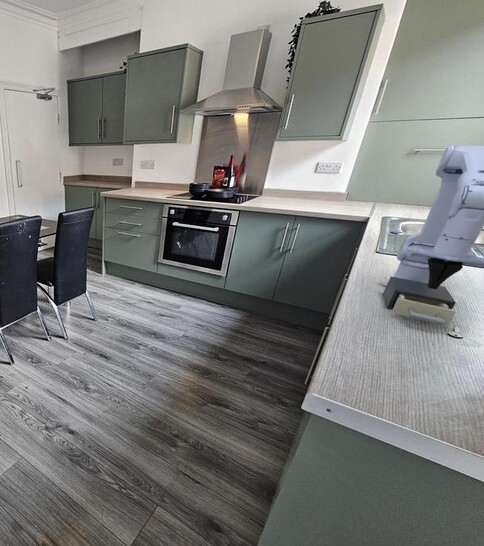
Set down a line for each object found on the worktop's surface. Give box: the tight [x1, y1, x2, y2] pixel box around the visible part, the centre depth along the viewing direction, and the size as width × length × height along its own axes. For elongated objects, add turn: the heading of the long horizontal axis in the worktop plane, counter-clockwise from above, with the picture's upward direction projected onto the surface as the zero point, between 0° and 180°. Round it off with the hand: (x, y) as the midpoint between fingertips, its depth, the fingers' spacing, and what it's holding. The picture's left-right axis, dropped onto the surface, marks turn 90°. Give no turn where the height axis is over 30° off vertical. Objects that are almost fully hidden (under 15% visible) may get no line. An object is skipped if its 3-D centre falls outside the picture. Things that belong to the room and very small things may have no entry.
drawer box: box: [382, 276, 457, 310], centre depth 90 cm, size 13×12×6 cm
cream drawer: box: [391, 293, 456, 327], centre depth 84 cm, size 17×10×4 cm, turn 141°
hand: (431, 287), depth 80 cm, fingers closed
